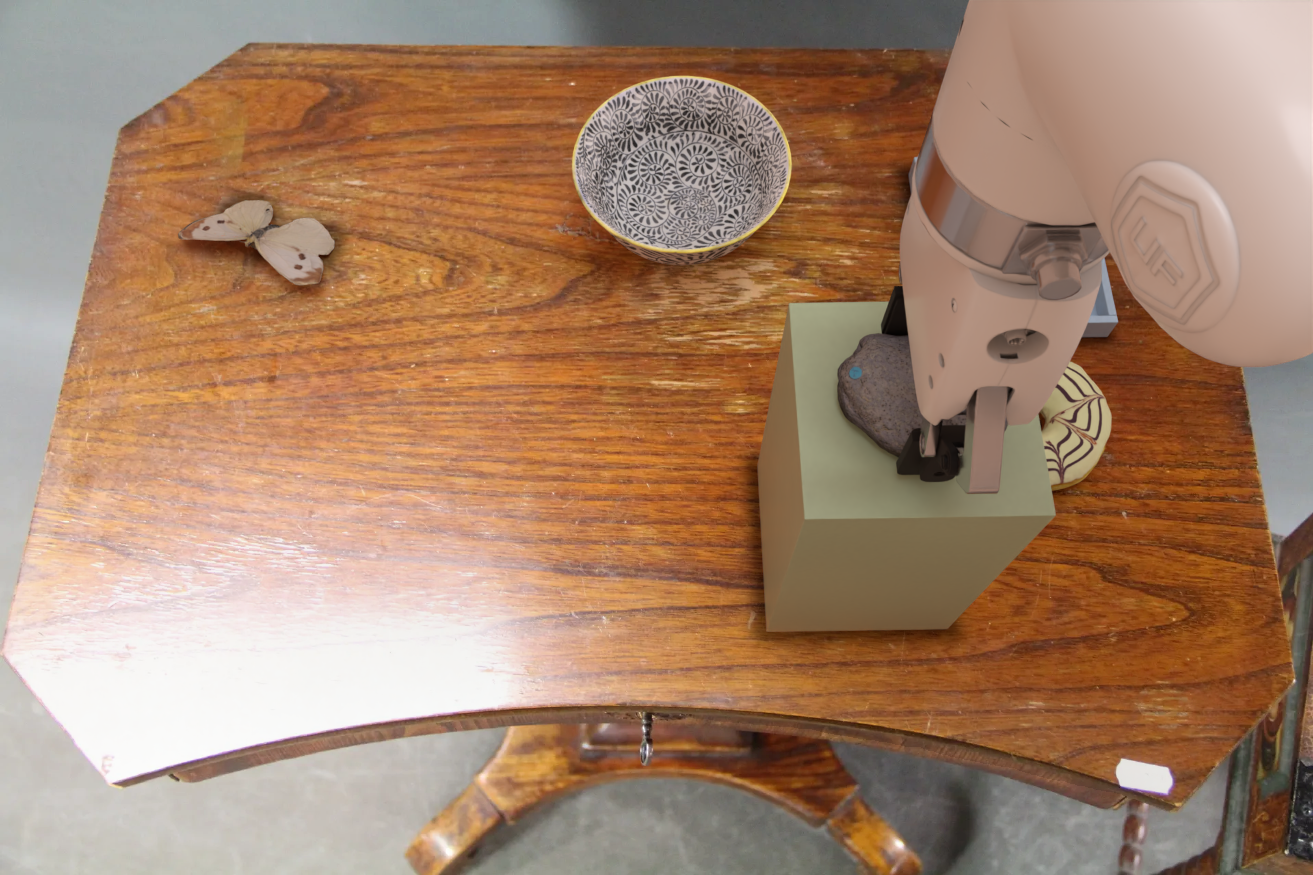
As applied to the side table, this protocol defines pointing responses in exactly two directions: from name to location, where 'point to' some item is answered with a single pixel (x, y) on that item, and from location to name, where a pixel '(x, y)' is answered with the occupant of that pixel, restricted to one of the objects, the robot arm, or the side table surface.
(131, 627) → the side table surface
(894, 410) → the stone
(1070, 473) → the decorated donut
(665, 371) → the side table surface
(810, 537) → the stand
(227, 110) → the side table surface
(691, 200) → the bowl
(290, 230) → the butterfly
